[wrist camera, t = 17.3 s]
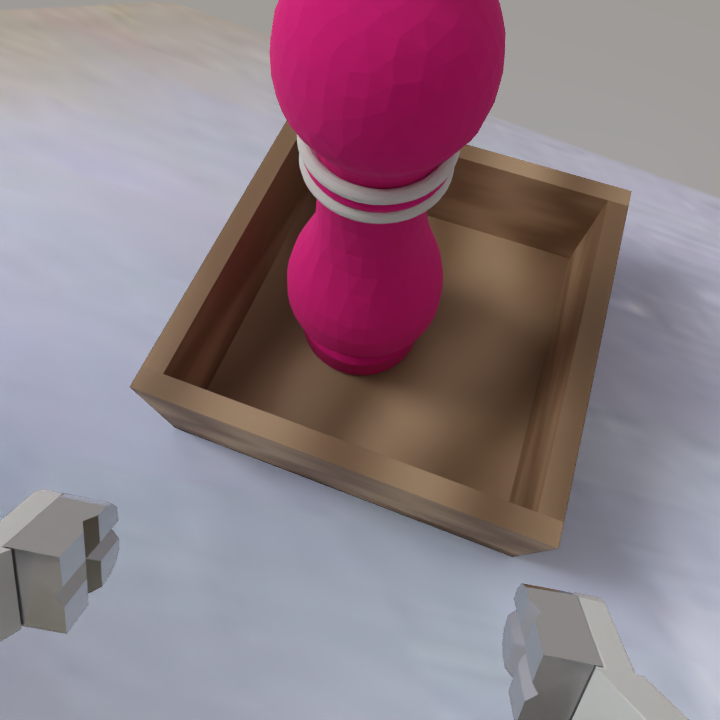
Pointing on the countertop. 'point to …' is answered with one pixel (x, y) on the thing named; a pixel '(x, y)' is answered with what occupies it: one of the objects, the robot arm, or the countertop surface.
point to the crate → (411, 352)
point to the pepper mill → (378, 158)
